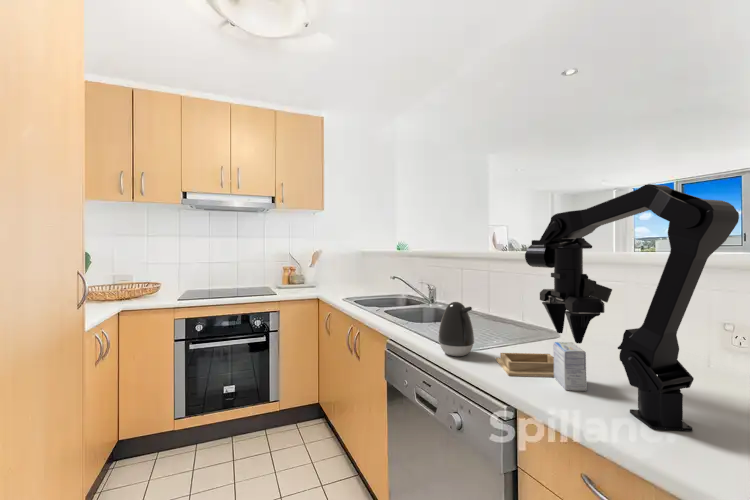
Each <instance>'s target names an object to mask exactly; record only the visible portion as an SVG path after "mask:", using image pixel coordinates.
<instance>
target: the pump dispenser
mask: <svg viewBox="0 0 750 500" xmlns="http://www.w3.org/2000/svg"><path fill="white" fill-rule="evenodd" d="M472 310H473V307H472V306H466V307H465V305H464V304H463V303H461V302H459V301H452V302H449V304H448V305H447V306H446V308H445V309H444V312H443V314H442V317H441V320H440V325H439V331H438V335H437V337H438V343H439V345H440V348H441V350H442V352H444V353H445V354H446V355H448V356H451V357H463V356H466V355H468V354H469V353H471V351H472V349H473V346H474V344H475V336H474V335H475V334H474V327H473V325H472V321H471V320H472V319H471V317H470V314H469V312H470V311H472Z"/></svg>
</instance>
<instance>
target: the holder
mask: <svg viewBox="0 0 750 500" xmlns="http://www.w3.org/2000/svg"><path fill="white" fill-rule="evenodd" d="M495 361H496V362H497V363H498V364H499V365H500V367H501V368H502V370H503V371H504V372H505V373H506V374H507V376H509V377H537V378H538V377H541V378H542V377H543V378H544V377H545V378H554V355H551V354H550V353H531V352H529V353H527V352H525V353H523V352H500V357H495Z"/></svg>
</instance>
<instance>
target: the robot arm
mask: <svg viewBox="0 0 750 500" xmlns="http://www.w3.org/2000/svg"><path fill="white" fill-rule="evenodd" d="M647 211H651V212H652V213H653V214H655V216H657V217H658V218H661V219H663V220H665V221H667V222H668V228H667V237H668V241H669V247H670V251H669V255H668V258H667V259H666V262H665V265H664V268H663V270H662V273H661V275H660V279H659V281H658V284H657V286H656V289H655V292H654V294H653V297H652V299H651V302H650V304H649V307H648V310H647V312H646V315H645V318H644V320H643V323H642V325H641V326H640V327H637V328H627V329H625V331H624V332H623V335H622V339H621V340H622V342H621V343H620V345H618V346H617V349H618V350H620V351H619V358H618V359H619V361H620V362H621V364H622V366H623V369H624V371H625V374H626V377H627V381H628V383H629V385H630V386H632V387H634V388H637V409H632V408H631V409H629V413H630V414H631V415H633V416H634V417H636V419H638V420H640V421H641V422H642V423H644V425H646V426H648V427H649V428H651V429H653V430H661V431H664V430H665V431H689V432H693V427H692V426H691V425H689V424H688V423H686V422H685V421H684V419H683V418H684V416H683V415H684V414H683V413H684V412H683V411H684V410H683V409H684V407H683V406H684V405H683V401H684V398H683V397H684V394H683V393H682V389H690V388H691V385H692V384H693V382H694V377H693V376H692V375H691V373H690V372H689V371H688V370H687V369H686V368H685V367H684V366H683V364H682V363H681V362H680V361H679V360H678V358H679V353H680V345H679V341H678V337H677V334H678V331H679V329H680V325H681V324H682V321H683V318H684V317H685V314H686V311H687V308H688V306H689V304H690V301H691V299H692V297H693V295H694V292H695V291H696V290H695V289H696V287H697V285H698V283H699V280H700V278H701V276H702V273H703V270H704V268H705V266H706V263H707V260H708V259H709V257H710V256H711V255H712V254H713V253H714V252H716V251H717V250H718V249H719V248H720V247H721V246H722V245H723V244H725V242H726V241H727V239H728V238H729V237H730V235H731V233H732V232H733V231H734V229H735V228H736V226H737V225H738V223H739V218H740V213H739V211H737V209H736V208H735V206H734V205H732V203H729V202H728V201H726V200H725V201H724V200H720V199H705V198H701V197H698V196H696V195H695V196H694V195H691V194H688V193H685V192H681V191H679V190H675V189H673V188H671V187H670V186H668V185H663V184H651V183H647V184H644V185H642V186H640V187H638V188H637V189H635V190H632V191H630V192H627V193H624V194H622V195H619V196H615V197H614V198H611V199H608V200H606V201H604V202H601V203H598V204H596V205H594V206H591V207H587V208H585V209H578V210H571V211H564V212H558V213H555V214H553V215H552V216H551V217H550V221H549V223H548V225H547V227H546V228H545V229H544V231H543V233H542V235H541V237H540V239H534V240H533V239H532V240H531V245H529V246H528V247H527V249H526V251H525V253H524V259H525V262H526V264H527V265H529V266H530V267H532V268H547V269H549V268H550V269H552V268H553V269H554V270H553V272H550V277H551V278H553V279H554V280H553V281H554V282H553V286H554V287H553V288H543V289H541V291H540V292H539V300H540V301H541V303H542V305H543V307H544V309H545V310H546V312H547V314H548V316H549V318H550V320H551V322H552V324H553V326H554V329H555V331H556V333H557V334H563V332H564V326H565V318H566V319H567V322H568V324H569V328H570V331H571V334H572V337H573V340H574V342H575V344H582V343H583V340H584V337H585V335H586V332H587V329H588V327H589V324H590V322H591V321H592V320H593V319H594V318H596V317H599V316H601V314H604V313H605V303H608V302H609V299H610V297H611V294H612V291H613V288H611V287H610V288H609V287H607V286H604V285H602V284H599V283H597V281H596V280H592V279H591V278H589V275H588V274H587V273H584V260H583V259H584V257H583V256H584V253H583V251H584V249H585V250H586V249H593V245H592V244H590V243H589V242H588V241H587V240H586V239H585V238H584V237H586V236H588V235H590V234H592V233H593V232H594V231H596V229H598V228H600V227H601V226H604V225H607V224H609V223H610V224H611V223H613V222H616V221H619V220H620V221H621V220H623V219H626V218H629V217H632V216H635V215H639V214H641V213H645V212H647Z"/></svg>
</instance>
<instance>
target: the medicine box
mask: <svg viewBox="0 0 750 500" xmlns="http://www.w3.org/2000/svg"><path fill="white" fill-rule="evenodd" d="M586 353H587V352H586V351H585V350H584V349H583V348H581V347H580V346H578V345H577V344H576V343H574V342H569V341H555V342H553V357H554V377H553V378H555V380H556V381H557V382H558V383H559V384H560V386H562V387H563V389H564V390H565V391H571V390H572V391H576V392H587V389H588V388H587V354H586Z"/></svg>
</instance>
